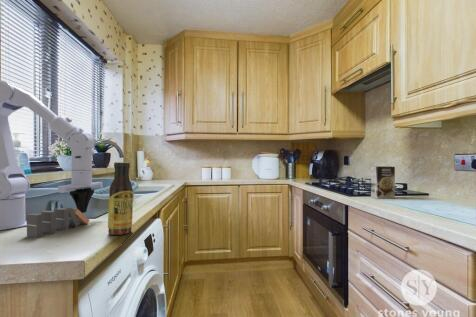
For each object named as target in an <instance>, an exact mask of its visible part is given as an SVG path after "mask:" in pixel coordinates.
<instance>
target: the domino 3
mask: <svg viewBox="0 0 476 317" xmlns="http://www.w3.org/2000/svg"><path fill="white" fill-rule="evenodd" d="M62 208H63V207H59V208H54V211H56V230H57V229H58V230H59V231H67V230H66V229H68V230H69V229H70V226H69V209H62Z"/></svg>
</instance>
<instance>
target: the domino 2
mask: <svg viewBox="0 0 476 317" xmlns="http://www.w3.org/2000/svg"><path fill="white" fill-rule="evenodd" d="M40 214H42V232H43V234H49V235H52V234H56V233H57V229H56V211H55V210H54V211H53V210H43V211H40Z"/></svg>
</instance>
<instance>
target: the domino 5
mask: <svg viewBox="0 0 476 317" xmlns="http://www.w3.org/2000/svg"><path fill="white" fill-rule="evenodd" d="M73 210H74V212H75V214H76V216H77V218H78V221H79V223H80V224H82V223H84V224H83V225H88V224H89V222H90V219H89V218H88V217H87V216H86V215H85V213H81V212H80V211H79V210H78V209H77V208H73Z"/></svg>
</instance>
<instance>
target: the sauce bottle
mask: <svg viewBox="0 0 476 317" xmlns="http://www.w3.org/2000/svg"><path fill="white" fill-rule="evenodd" d="M130 166H131V165H130V162H123V161H122V162H121V161H119V162H118V161H117V162H116V161H115V162H114V163H113V167H114V175H113V177H114V179H113V180H112V182H111V183H110V186H109V193H108V194H109V195H108V212H107V228H108V230H107V232H108V235H110V236H122V235H123V236H124V235H126V234H130V233H132V227H133V208H134V207H133V205H134V202H133V201H134V199H133V198H134V192H133V191H134V190H133V184H132V182H131V179H130V168H131V167H130Z"/></svg>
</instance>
